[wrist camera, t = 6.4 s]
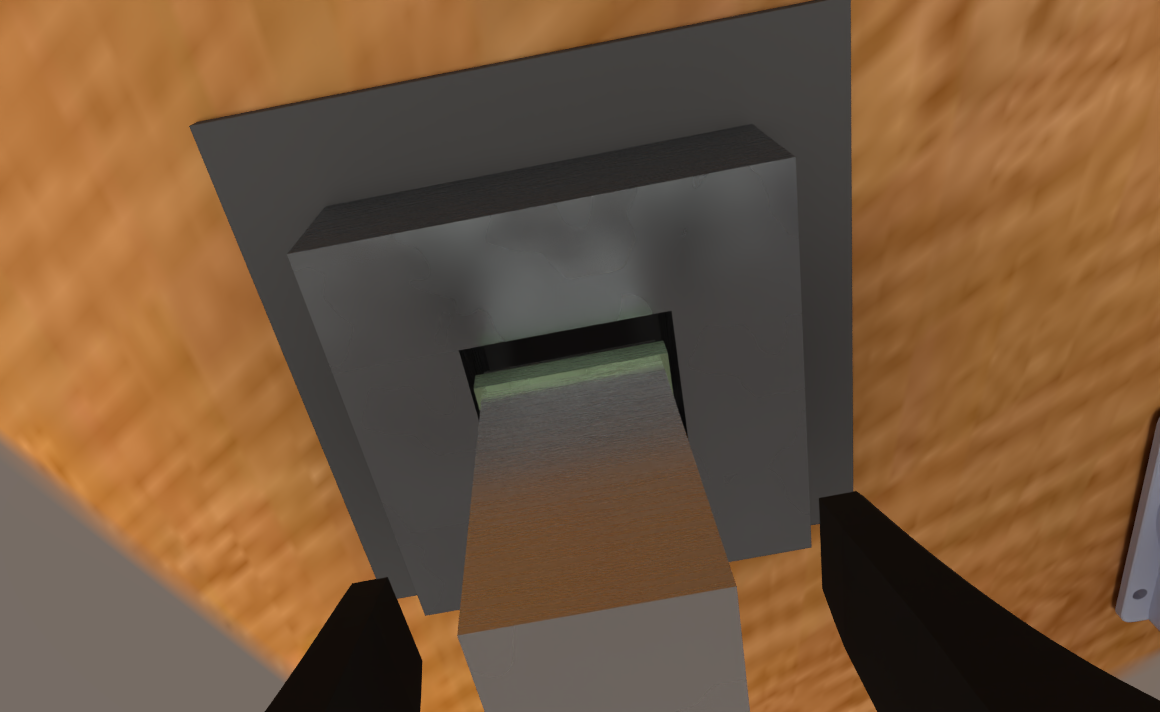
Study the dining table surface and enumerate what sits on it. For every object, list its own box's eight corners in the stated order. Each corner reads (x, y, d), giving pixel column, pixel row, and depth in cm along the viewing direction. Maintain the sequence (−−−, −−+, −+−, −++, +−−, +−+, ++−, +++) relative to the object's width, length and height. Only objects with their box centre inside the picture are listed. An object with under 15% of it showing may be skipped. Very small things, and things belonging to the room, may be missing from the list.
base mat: (847, 508, 26) (853, 517, 25) (387, 590, 26) (385, 600, 26) (842, -6, 18) (850, -5, 18) (197, 122, 19) (189, 126, 18)
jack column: (681, 480, 19) (765, 765, 13) (516, 510, 20) (510, 808, 13) (660, 332, 17) (746, 577, 11) (476, 366, 17) (444, 630, 11)
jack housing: (775, 481, 24) (811, 558, 21) (441, 541, 25) (429, 625, 22) (751, 123, 19) (795, 157, 16) (324, 206, 19) (286, 254, 16)
